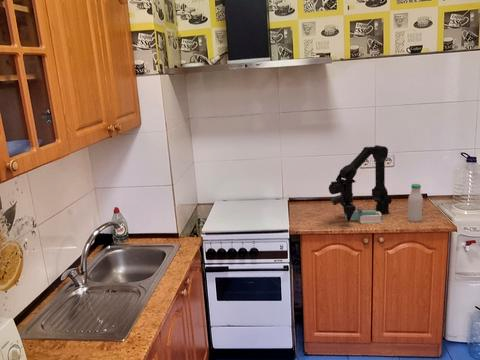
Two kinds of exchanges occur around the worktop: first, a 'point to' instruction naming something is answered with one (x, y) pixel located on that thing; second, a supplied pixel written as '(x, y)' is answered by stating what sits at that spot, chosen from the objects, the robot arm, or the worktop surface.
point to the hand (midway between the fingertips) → (347, 217)
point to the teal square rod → (357, 214)
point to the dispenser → (370, 217)
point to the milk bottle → (415, 204)
